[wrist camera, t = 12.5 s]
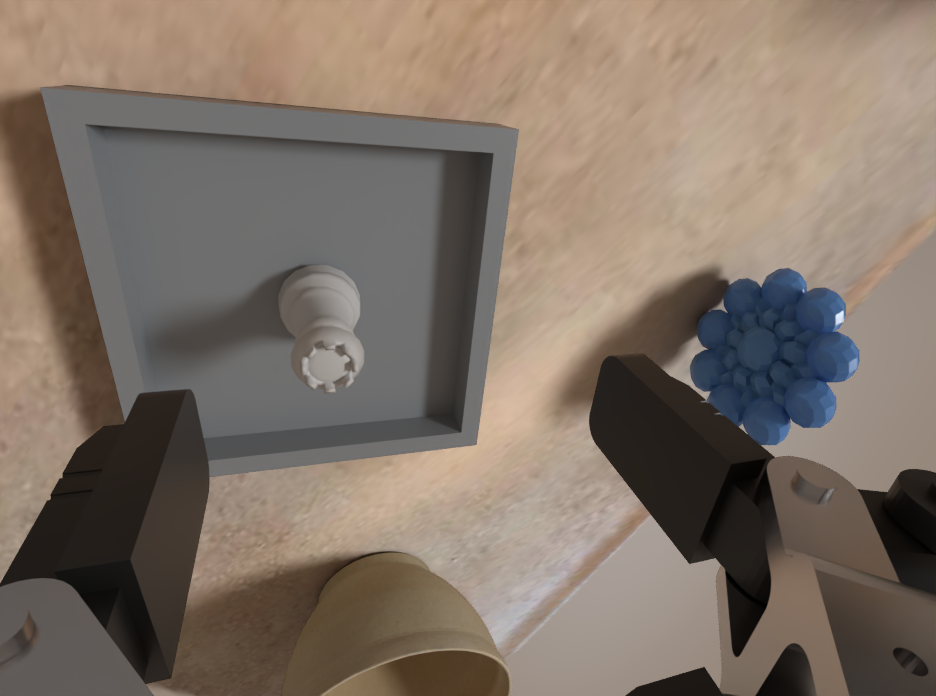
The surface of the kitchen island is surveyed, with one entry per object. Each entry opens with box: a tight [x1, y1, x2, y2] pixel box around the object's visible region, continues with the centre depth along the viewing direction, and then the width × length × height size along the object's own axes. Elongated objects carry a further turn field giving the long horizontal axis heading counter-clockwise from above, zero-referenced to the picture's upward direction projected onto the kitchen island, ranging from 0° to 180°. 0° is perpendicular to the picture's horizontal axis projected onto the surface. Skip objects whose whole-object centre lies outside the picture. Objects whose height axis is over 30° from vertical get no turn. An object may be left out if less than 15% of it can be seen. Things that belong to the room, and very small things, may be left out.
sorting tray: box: [40, 85, 519, 477], centre depth 28 cm, size 20×20×3 cm
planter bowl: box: [281, 552, 512, 696], centre depth 39 cm, size 16×16×11 cm
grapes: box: [690, 268, 859, 445], centre depth 35 cm, size 12×7×12 cm, turn 148°
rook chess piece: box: [278, 265, 364, 394], centre depth 26 cm, size 4×4×8 cm
